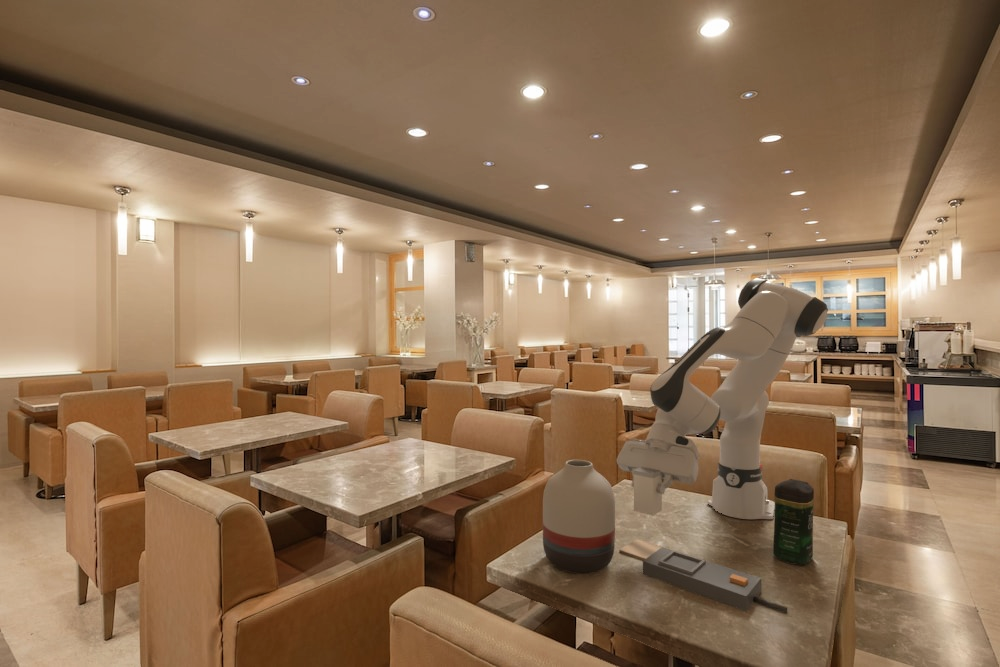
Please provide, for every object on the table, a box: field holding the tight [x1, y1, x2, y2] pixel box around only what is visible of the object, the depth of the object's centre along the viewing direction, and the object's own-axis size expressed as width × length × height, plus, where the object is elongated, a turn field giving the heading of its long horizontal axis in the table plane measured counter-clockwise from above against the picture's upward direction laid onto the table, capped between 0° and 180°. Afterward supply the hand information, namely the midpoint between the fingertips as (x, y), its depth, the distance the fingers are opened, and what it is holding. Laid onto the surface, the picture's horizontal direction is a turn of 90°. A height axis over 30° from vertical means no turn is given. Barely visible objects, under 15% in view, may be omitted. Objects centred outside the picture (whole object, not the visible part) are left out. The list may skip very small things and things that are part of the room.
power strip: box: [642, 546, 789, 613], centre depth 108 cm, size 10×28×4 cm, turn 47°
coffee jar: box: [772, 478, 815, 566], centre depth 123 cm, size 10×8×19 cm
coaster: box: [619, 538, 669, 561], centre depth 126 cm, size 9×9×1 cm
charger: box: [633, 467, 663, 516], centre depth 125 cm, size 5×5×10 cm
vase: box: [542, 459, 616, 575], centre depth 120 cm, size 17×17×24 cm
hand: (646, 489), depth 124 cm, fingers closed on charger, 5 cm apart
